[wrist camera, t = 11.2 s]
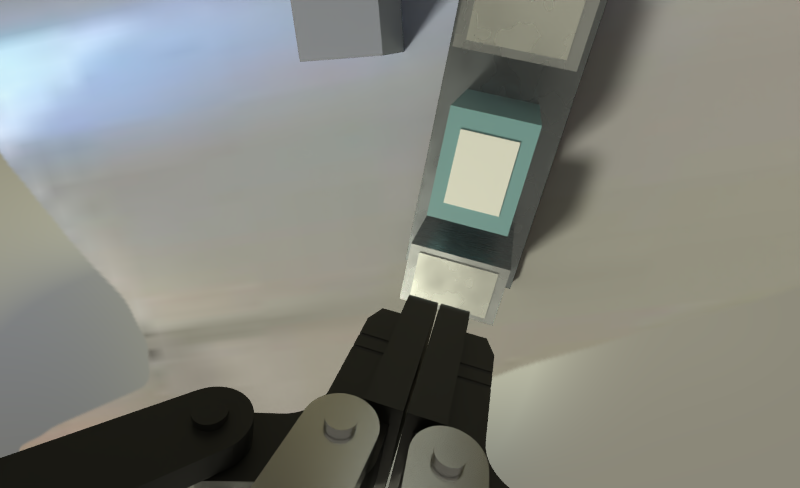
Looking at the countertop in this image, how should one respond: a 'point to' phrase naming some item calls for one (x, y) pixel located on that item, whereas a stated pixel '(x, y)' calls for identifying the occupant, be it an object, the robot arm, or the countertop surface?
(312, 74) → the countertop surface
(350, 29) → the block
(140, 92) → the countertop surface
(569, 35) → the rail
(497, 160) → the block
